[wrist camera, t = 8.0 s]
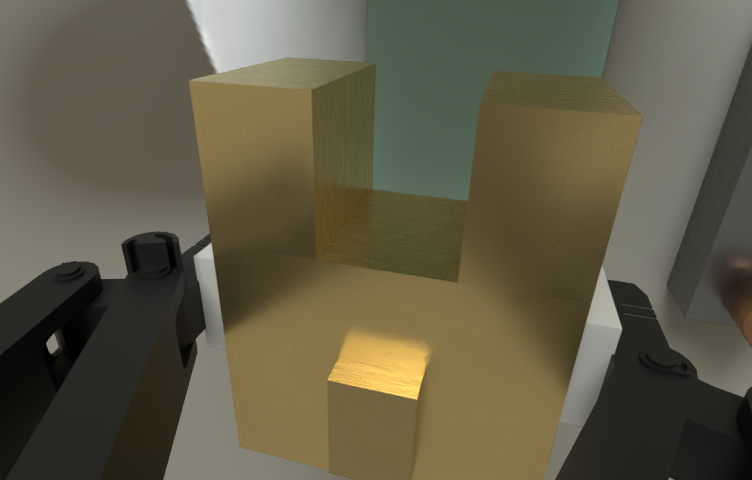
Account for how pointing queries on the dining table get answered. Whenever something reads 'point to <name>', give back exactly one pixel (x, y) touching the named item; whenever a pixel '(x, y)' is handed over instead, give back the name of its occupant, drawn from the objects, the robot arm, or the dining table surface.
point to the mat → (463, 75)
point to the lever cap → (405, 269)
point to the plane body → (722, 227)
